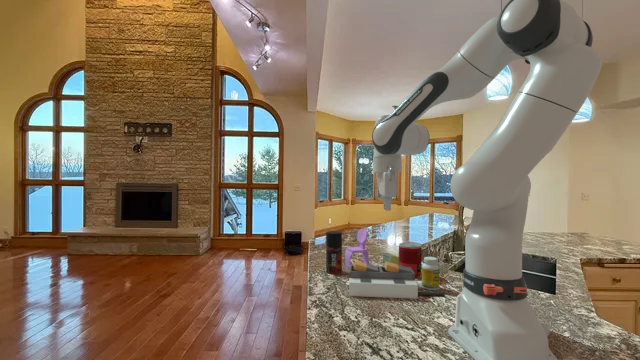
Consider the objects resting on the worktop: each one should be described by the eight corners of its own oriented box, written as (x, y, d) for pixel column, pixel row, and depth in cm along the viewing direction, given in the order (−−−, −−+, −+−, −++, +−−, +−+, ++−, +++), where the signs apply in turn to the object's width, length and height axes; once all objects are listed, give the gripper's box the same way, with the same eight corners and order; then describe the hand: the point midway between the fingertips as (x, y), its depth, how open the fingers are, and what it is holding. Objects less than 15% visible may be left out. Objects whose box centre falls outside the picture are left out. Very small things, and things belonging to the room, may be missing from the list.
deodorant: (328, 274, 115) (328, 233, 115) (324, 270, 121) (324, 231, 121) (344, 273, 116) (344, 233, 116) (338, 269, 122) (338, 230, 122)
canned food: (422, 278, 111) (422, 247, 111) (399, 276, 113) (399, 246, 113) (420, 272, 118) (420, 243, 118) (398, 270, 120) (398, 242, 120)
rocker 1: (409, 279, 97) (411, 272, 97) (385, 272, 98) (387, 265, 98) (406, 274, 102) (408, 267, 102) (383, 267, 103) (385, 260, 103)
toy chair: (343, 265, 128) (343, 228, 128) (363, 263, 131) (363, 227, 131) (351, 270, 120) (351, 231, 120) (372, 268, 123) (372, 230, 123)
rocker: (376, 278, 99) (378, 271, 98) (353, 271, 99) (355, 264, 99) (375, 273, 103) (377, 266, 103) (353, 267, 104) (355, 260, 104)
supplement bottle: (426, 283, 105) (426, 255, 105) (442, 287, 101) (442, 258, 101) (418, 287, 101) (418, 258, 101) (434, 292, 97) (434, 261, 97)
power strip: (447, 299, 91) (447, 279, 91) (349, 295, 94) (349, 275, 94) (436, 285, 103) (436, 267, 103) (349, 282, 106) (349, 265, 106)
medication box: (382, 262, 133) (382, 253, 133) (387, 261, 134) (387, 252, 134) (399, 270, 122) (399, 259, 122) (405, 269, 123) (404, 259, 123)
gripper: (402, 165, 90) (402, 213, 90) (393, 168, 110) (393, 207, 110) (379, 165, 91) (379, 213, 91) (375, 168, 111) (375, 207, 111)
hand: (387, 210), depth 101 cm, fingers closed
